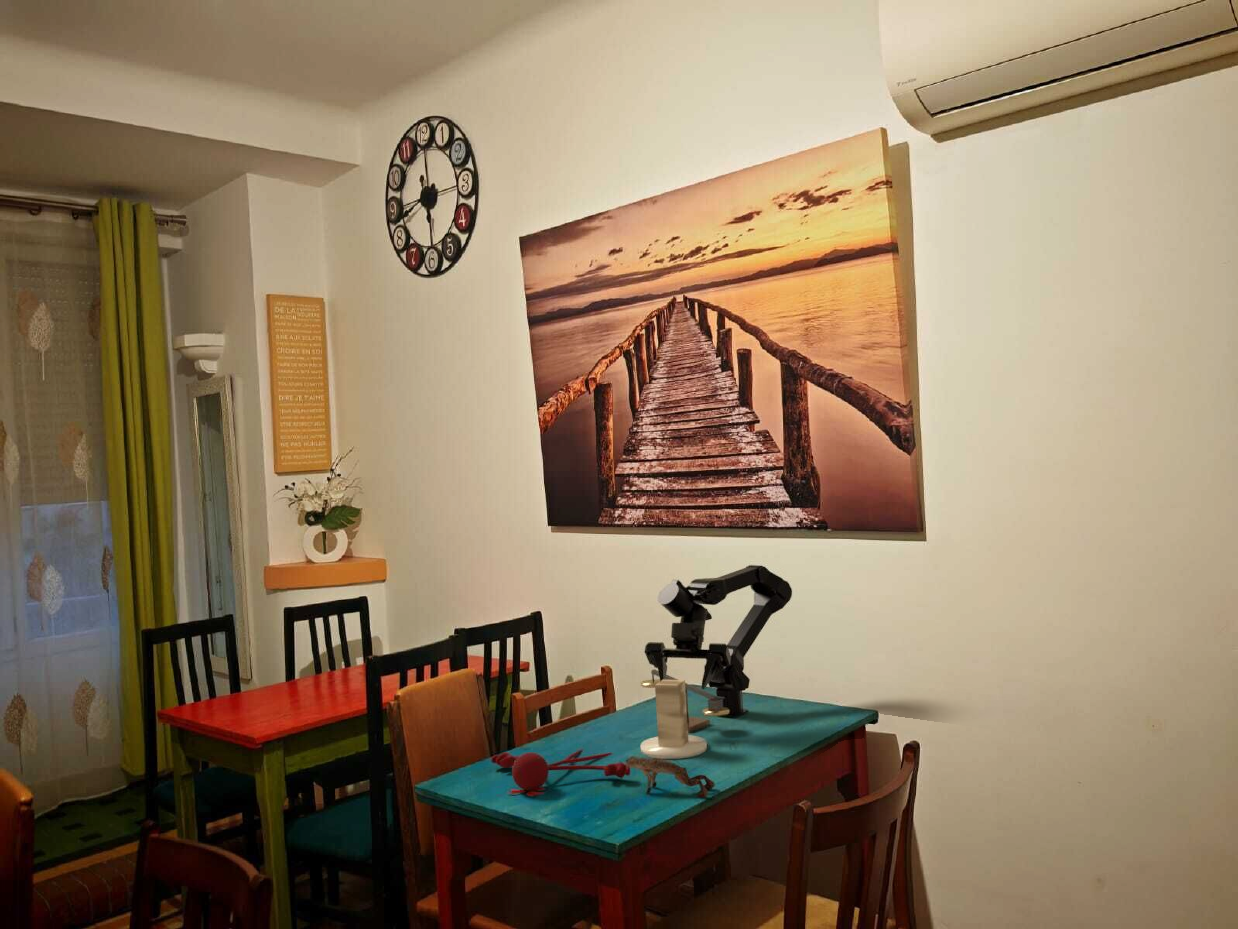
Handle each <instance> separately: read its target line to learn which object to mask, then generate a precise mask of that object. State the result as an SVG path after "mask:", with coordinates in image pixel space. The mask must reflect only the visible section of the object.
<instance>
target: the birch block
mask: <svg viewBox="0 0 1238 929" xmlns="http://www.w3.org/2000/svg"><path fill="white" fill-rule="evenodd" d="M685 683H686V679H685V680H684V679H678V680H661V681H660V682H658V683H657V684H655V688H654V691H655V692H654V693H655V694H654V695H655V708H656V709H655V710H656V723H657V726H656V727H657V737H658V744H659V746H662V747H682V746H683V745H684V744H686V743H687V742H688V735H689V733H688V725H687V708H686V692H685Z"/></svg>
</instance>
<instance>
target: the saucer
mask: <svg viewBox="0 0 1238 929" xmlns="http://www.w3.org/2000/svg"><path fill="white" fill-rule="evenodd" d="M707 746H708V745H707V740H706V739H704V738H703V737H701V736H697V735H692V734H688V742H687V743H686V744H684V745H683V746H682V747H662V746H659V744H658V736H654V737H653V736H652V737H650V738H648V739H644V740H643V741H642V742H641V743H640V753H641V754H642V755H643V756H645V757H649V758H651V759H653V758H659V759H663V760H679V759H685V758H686V759H687V758H691V757H696V756H698V755H701V754H704V753H705V752H706V751H707V750H708V749H707V748H708V747H707Z"/></svg>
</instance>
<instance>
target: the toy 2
mask: <svg viewBox="0 0 1238 929" xmlns="http://www.w3.org/2000/svg"><path fill="white" fill-rule="evenodd" d="M624 762H625V763H624V764H625V765H627V766H629V767H630V768H631V769H636V770H637V769H638V770H640V771H641V772H642V773H643V774H644V775H645V776H646V777H647V787H646V791H645V792H644V794H646V795H649V794H650V793H651V791H652V789H655V788H656V786H657V781H656V778H657V776H658V774H659V773H662V774H668V775H674V778H675V780H677V781H678V782H679V783H680V784H683V785H685V786H687V787H693V786H697V785H699V788H700V790H699V791H698V792H696V793H697V794H696V795H697V797H698V798H700V799H703V798H706V797H707V796H708V791H709V790H712V789H714V787H715V781H713V780H711V779H710V778H709V777H707V776H706V775H705V774H698V775H694V776H692V777H690V776H689V774H688V773H687V772H688V771H687V769H686V767H682V766H680V765H679V764H676V763H675V762H672V761H668V760H667V759H659V758H652V757H649V758H647V757H642V756H635V755H633V756H630V757H627V758H626V759H625V761H624ZM702 780H704V782H705V784H703V783H702Z"/></svg>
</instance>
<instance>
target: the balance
mask: <svg viewBox="0 0 1238 929" xmlns="http://www.w3.org/2000/svg"><path fill="white" fill-rule="evenodd" d="M651 674H652V675H651V676H652V678H651V679H645V680H642V681H641V682H640V687H642V688H648V689H650V688H654V689H655V684H657V683H658V682H660V677H659V672H658V669H651ZM655 676H656V677H658V679H657V678H655ZM666 680H679V679H678V678H676V677H673V676H671V675H669V674H666ZM688 691H690V692H693V693H695V694H697V695H700V696H701V697H703V698H706V699H708V700H707V705H708V706H707V707H706V708H704V709H702V715H704V716H708V717H724V716H723V715H727V714H729V709H728V708H725V707H723V699H720V698H717V696H716V695H714V694H712V693H709V692H707V691H705V690H704V689H702V688H701V689H700V688H698V687H695V686H693V685H691V684H689V683H687V682H685V692H686V708H687V725H688V734H690V733H693V732H695V731H698V730H699V729H702V728H704V727H707V726H710V725H711V719H710V718H704V717H699V716H698V717H697V716H696V717H695V716H690V715H689V702H688Z"/></svg>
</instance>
